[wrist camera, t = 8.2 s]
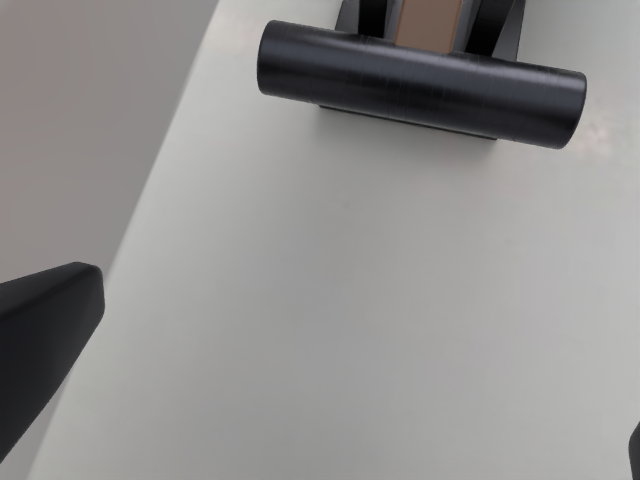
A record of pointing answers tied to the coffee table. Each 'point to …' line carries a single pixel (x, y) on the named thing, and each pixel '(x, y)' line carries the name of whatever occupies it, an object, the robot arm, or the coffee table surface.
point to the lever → (422, 78)
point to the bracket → (471, 34)
